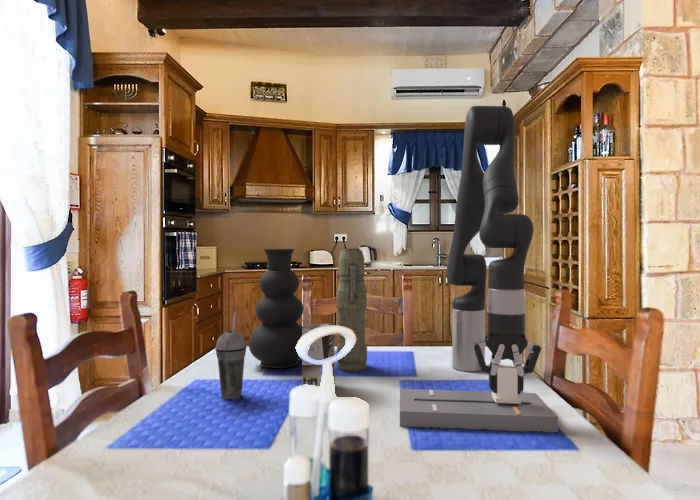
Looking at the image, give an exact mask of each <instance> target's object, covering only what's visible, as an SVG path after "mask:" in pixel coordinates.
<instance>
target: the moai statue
mask: <svg viewBox="0 0 700 500" xmlns="http://www.w3.org/2000/svg"><path fill="white" fill-rule="evenodd" d="M365 271H366V270H365V256H364V253H363V250H361V249H360V248H343V249H341V250H340V253H339V257H338V277H339V279H338V285H337V288H336V308H337V313H338V316H337V317H338V319H337V320H338V321H337V322H338V323H337V324H338V325H340V326H345V327H348V328H350V329H352V330H353V331H354V333H355V334H356V337H357V341H356V344H355V346H354V347H353V348H352V349H351V351H350V352H349V353H348V354H347V355H346V356H345V357H343V358H342V359H340V360H338V361H337V367H336V369H338V370H339V371H342V372H349V373H351V372H352V373H354V372H356V373H357V372H361V371H365V370H367V367H368V366H367V365H368V364H367V360H368V346H367V343H366V309H367V306H368V305H367V304H368V303H367V302H368V299H367V298H368V295H367V294H368V293H367V292H368V291H367V286H366V284H365V282H366V281H365ZM336 344H337V346H336V354H337V353H338V352H339V351H340V350H341V349H342V348H343V347H344V345H345V338H344V337H343V336H341V335H339V334H338V341H337V343H336Z"/></svg>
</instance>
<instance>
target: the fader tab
mask: <svg viewBox="0 0 700 500" xmlns="http://www.w3.org/2000/svg"><path fill="white" fill-rule="evenodd" d="M496 375H497V393H493V391H491V392H492V398H493V399H494V401H495V402H496V403H515V404H521V398H520V397H519V396H518V394H517V368H516V366H514V364H500V365H499V366H498V368H497V373H496Z"/></svg>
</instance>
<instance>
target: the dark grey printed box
mask: <svg viewBox="0 0 700 500" xmlns="http://www.w3.org/2000/svg"><path fill="white" fill-rule="evenodd" d="M327 325H335V323H334V322H311V323H310V324H308V325H306V326H304V328H302V335H303V334H305V333H307V332H308V331H310V330H312V329H314V328H317V327H321V326H327ZM335 326H336V325H335ZM335 338H336V336H335V334H334V335H328V336H325V337H322V338H320V339H318V340H317V341H315V342H314V343H313V344H312V345H311V346H310V348H309V350H308V355H309V356H310V357H311V358H313V359H316V360H322V359H325V358H328V357H331V356H334V355H335V356H336V354H335V353H336V348H335V347H336V346H335V345H336V343H335ZM335 362H336V361H335ZM335 362H334V363H333V364H332V367H333V376H334V381H335V382H336V371H335V370H336V367H335V365H336V363H335ZM321 375H322V365H315V364H311V363H309V362H306V361H304V360H303V359H302V358H301V386H302V385H303V384H308V385H315V386H320V382H321Z"/></svg>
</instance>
